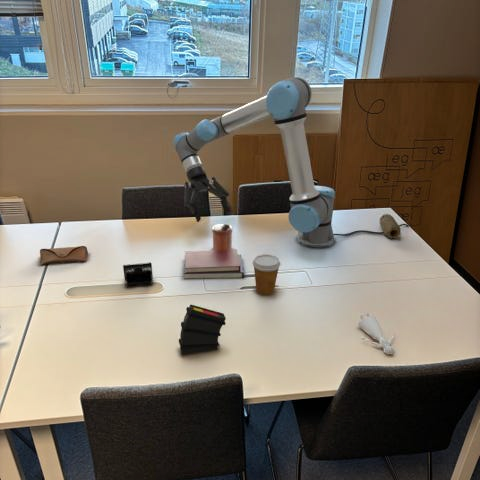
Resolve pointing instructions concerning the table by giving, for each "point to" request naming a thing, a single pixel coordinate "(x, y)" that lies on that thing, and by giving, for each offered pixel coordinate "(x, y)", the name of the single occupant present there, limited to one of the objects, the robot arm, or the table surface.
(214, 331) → the magazine
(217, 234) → the terracotta pot
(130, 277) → the end cap
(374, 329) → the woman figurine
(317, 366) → the table surface
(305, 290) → the table surface
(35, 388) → the table surface
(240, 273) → the navy book
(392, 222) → the stone weight
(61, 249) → the sunglasses case
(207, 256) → the burgundy book
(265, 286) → the disposable coffee cup
